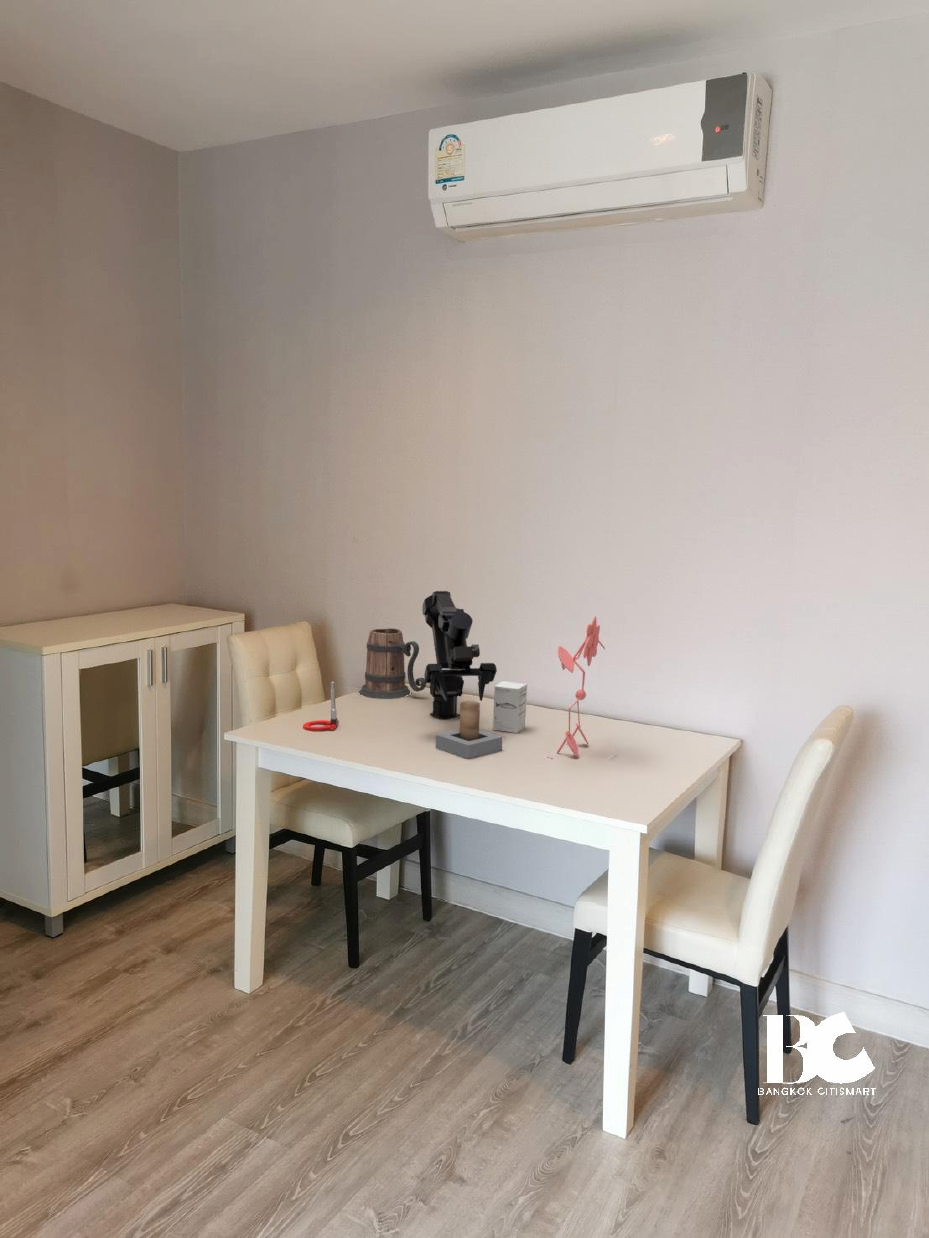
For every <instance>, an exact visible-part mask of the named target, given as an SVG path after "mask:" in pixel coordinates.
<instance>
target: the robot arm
mask: <svg viewBox="0 0 929 1238" xmlns="http://www.w3.org/2000/svg"><path fill="white" fill-rule="evenodd" d="M421 610H422V612H421V613H422V615H423V616H424V620H425V623H426V624H427V625H428V626H429V627H430V628H431V630H432V637H433V644H434V645H433V646H434V652H435V659H436V661H435V662H436V663H428V664H427V665H426V666H425V670H424V675H423V678H424V679H425V682H426V684H429V695H431V697H432V698H433V702H432V712H430V713H429V715H430V716H432V717H435V718H439V719H442V720H448V719H452V718H457V717H460V713H457V710H458V709H457V707H458V697H462V696H463V689H464V684H465V680H464V679H463V677H477V678H478V679H477V680H478V681H477V686H478V698H479V701H480V702H481V701H483V698H484V692H485V687H486V685H489V684H490V683H491V682H493V681H495V676H496V674H497V671H498V670H497V669H498V668H497V665H496V664H495V663H494V662H480V665H479V667H473V668H472V667H471V666H472V665H473V660H474V658H479V656H480V654H481V652H480V650H481V649H480V645H479V644H471V646H468V643H467V639H468V638H469V635H470V631H471V628H472V625H473V618H472V616H471V615H470V614H469V613H467V612H465V609H464V608H459V607H456V605H455V603H454V601H453V600H452V596H451V592H450V591H449V590H434V591H433V592H432V594H431V595H429V596H427V597H426V598H425V599H424V600H423V604H422V609H421Z"/></svg>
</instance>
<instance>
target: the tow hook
mask: <svg viewBox="0 0 929 1238" xmlns="http://www.w3.org/2000/svg"><path fill="white" fill-rule="evenodd" d="M330 708H331V709H330V720H326V719H325V720H323V719H322V720H321V719H320V720H311V721H307V722H305V723H303V724H302V729H304V730H305V731H312V732H317V731H318V732H319V731H327V730H328V731H330V732H331V731H332V732H334V731H335V730H336V728H337V727H338V725H339V724H340V721H339V720H338V716H337V715H338V714H337V713H338V712H337V711H338V710H337V707H336V689H335V682H334V681H330ZM315 725H316V726H315ZM317 725H322V726H317ZM323 725H324V726H323Z"/></svg>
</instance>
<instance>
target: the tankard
mask: <svg viewBox="0 0 929 1238" xmlns="http://www.w3.org/2000/svg"><path fill="white" fill-rule="evenodd" d="M412 648H413V653H411V651H412ZM366 649H367V650H366V665H365V667H366V668H365V670H366V671H365V672H364V680H365V682H364V684H363V685H362V687H361V689H360V690H358V694H359V693H360V694H359V695H360V696H361V695H363V696H362V697H364V696H365V698H369V699H375V700H376V699H378V700H393V699H394V700H395V699H401V697H403V698H405V697H404V696H406V695H409V694H410V691H411V690H413V691H414V692H421V691H424V690H425V689H426V687H427V683H426V682H425V678H424V677H417V678H416V679H415V676H414V665H415V661H416V659H417V658H418V655H419V651H420V646H419V644H418V643H417V641H413V640H412V641H408V642H406V643H405V642H404V637H403V632H402V630H401V629H397V628H391V627H390V628H375V629H370V631H369V634H368V639H367V642H366ZM405 656H406V657H410V659H409V661H408V665H407V671H405ZM406 672H407V673H406ZM406 674H407V676H406ZM406 677H407V680H408V681H407V682H408V684H409V686H408V685H406ZM419 686H420V687H419ZM409 687H410V688H411V690H410V689H409ZM409 696H410V695H409Z"/></svg>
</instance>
